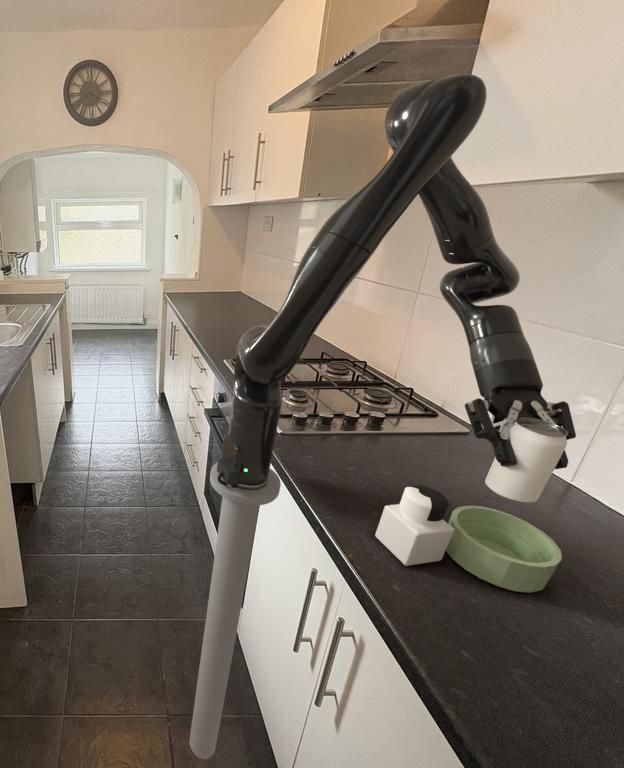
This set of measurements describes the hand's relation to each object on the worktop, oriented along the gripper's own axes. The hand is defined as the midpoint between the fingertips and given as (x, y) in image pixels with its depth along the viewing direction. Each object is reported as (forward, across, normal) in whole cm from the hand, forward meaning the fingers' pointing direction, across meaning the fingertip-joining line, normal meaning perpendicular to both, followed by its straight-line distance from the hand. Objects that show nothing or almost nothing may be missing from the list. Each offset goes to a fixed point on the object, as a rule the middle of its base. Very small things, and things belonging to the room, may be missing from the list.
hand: (534, 466), depth 63 cm
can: (+3, 0, +5) cm, 6 cm away
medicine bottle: (+12, -12, +15) cm, 23 cm away
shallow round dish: (+14, 0, +13) cm, 19 cm away
